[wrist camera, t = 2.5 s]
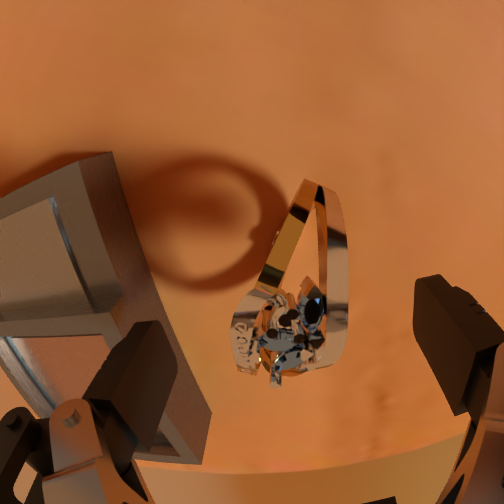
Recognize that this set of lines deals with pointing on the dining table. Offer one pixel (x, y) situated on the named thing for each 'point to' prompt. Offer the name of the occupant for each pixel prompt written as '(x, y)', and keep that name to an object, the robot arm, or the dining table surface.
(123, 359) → the robot arm
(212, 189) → the dining table surface
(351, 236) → the dining table surface
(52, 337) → the grey tray
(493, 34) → the dining table surface
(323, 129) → the dining table surface
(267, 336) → the ring
